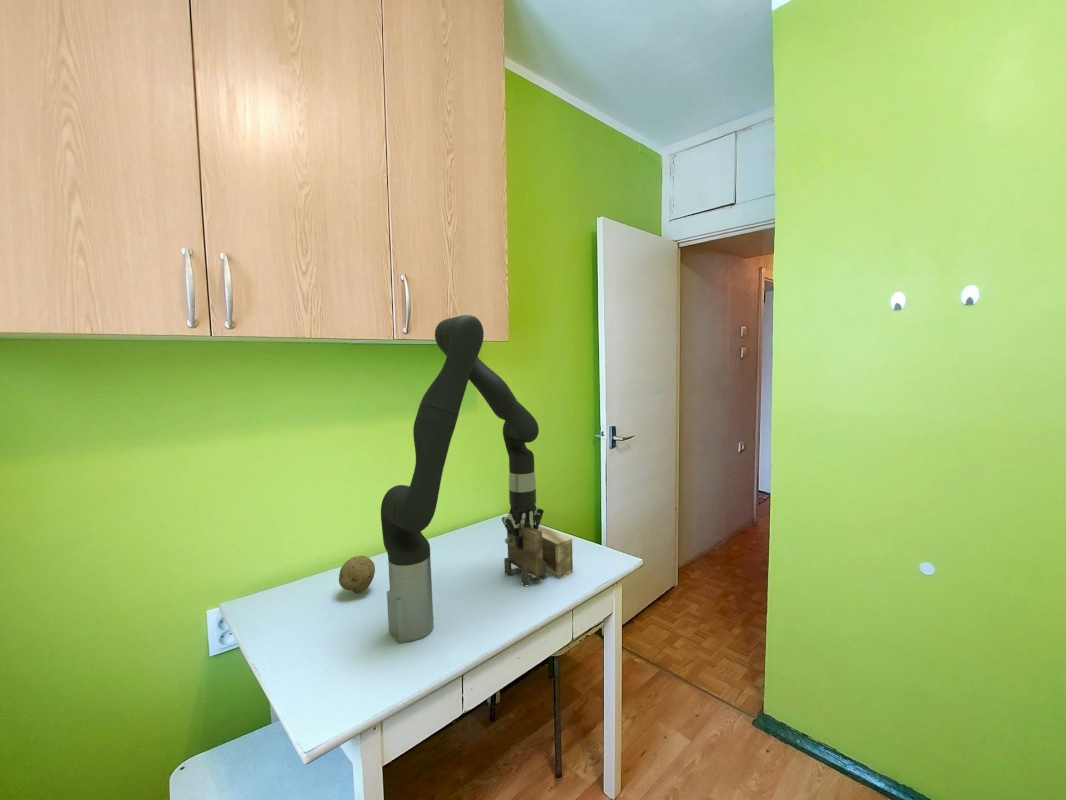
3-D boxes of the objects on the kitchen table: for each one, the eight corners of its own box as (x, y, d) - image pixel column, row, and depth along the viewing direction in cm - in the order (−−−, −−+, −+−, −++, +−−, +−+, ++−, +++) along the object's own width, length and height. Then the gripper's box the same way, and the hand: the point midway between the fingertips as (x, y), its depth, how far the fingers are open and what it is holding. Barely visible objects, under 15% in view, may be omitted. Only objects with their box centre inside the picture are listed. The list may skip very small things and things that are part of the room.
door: (532, 578, 124) (530, 535, 123) (504, 563, 134) (502, 522, 133) (543, 574, 127) (542, 531, 125) (515, 559, 137) (513, 519, 136)
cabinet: (531, 589, 123) (530, 553, 122) (499, 570, 135) (498, 537, 134) (572, 572, 132) (572, 538, 132) (539, 556, 144) (538, 524, 143)
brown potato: (354, 605, 117) (351, 567, 117) (332, 596, 122) (330, 559, 121) (382, 589, 125) (380, 554, 124) (361, 582, 130) (359, 547, 129)
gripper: (510, 495, 122) (512, 558, 123) (550, 485, 130) (551, 544, 132) (494, 489, 128) (496, 550, 129) (533, 480, 136) (534, 537, 138)
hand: (524, 547), depth 130 cm, fingers closed on door, 2 cm apart
